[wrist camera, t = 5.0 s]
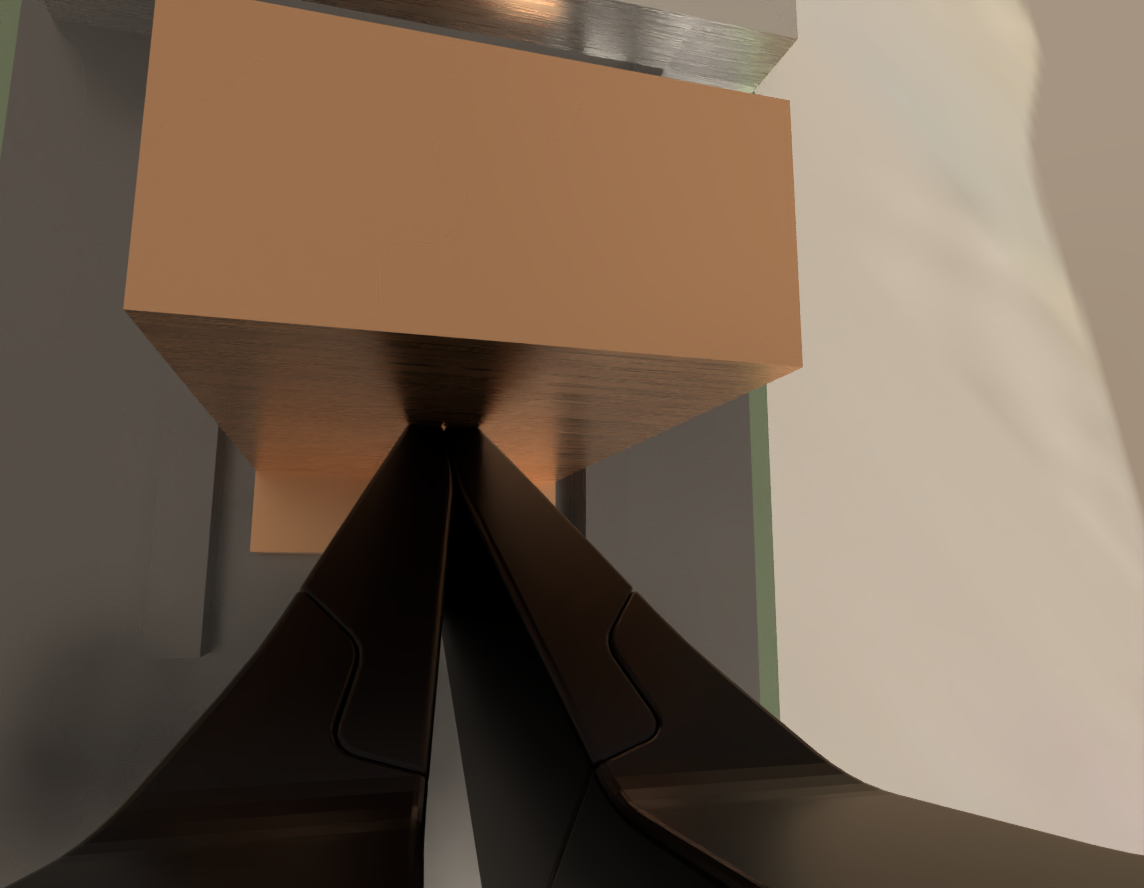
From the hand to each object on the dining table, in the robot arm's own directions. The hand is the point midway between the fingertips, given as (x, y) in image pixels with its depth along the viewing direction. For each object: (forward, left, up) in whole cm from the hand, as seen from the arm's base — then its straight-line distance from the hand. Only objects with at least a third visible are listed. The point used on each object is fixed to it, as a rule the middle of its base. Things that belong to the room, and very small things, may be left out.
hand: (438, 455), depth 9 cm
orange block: (+2, +2, -5) cm, 6 cm away
